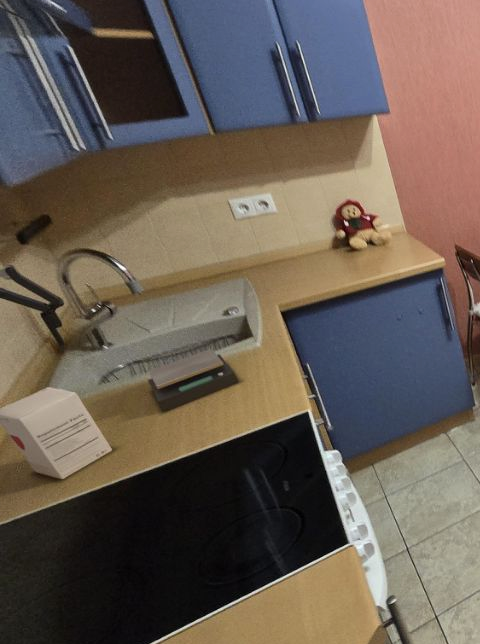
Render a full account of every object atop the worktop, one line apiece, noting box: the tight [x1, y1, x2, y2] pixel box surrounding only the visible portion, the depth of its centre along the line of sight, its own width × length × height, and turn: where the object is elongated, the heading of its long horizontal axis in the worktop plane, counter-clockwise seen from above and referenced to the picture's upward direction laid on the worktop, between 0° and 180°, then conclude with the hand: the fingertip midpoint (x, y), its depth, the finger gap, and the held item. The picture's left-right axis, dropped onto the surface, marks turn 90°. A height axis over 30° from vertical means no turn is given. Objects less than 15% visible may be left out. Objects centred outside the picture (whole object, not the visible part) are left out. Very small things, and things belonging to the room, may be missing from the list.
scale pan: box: [148, 348, 224, 389], centre depth 131 cm, size 12×13×1 cm
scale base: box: [147, 353, 239, 413], centre depth 132 cm, size 15×15×3 cm
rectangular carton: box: [0, 386, 113, 480], centre depth 105 cm, size 9×9×15 cm
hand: (12, 359), depth 99 cm, fingers open, 13 cm apart
